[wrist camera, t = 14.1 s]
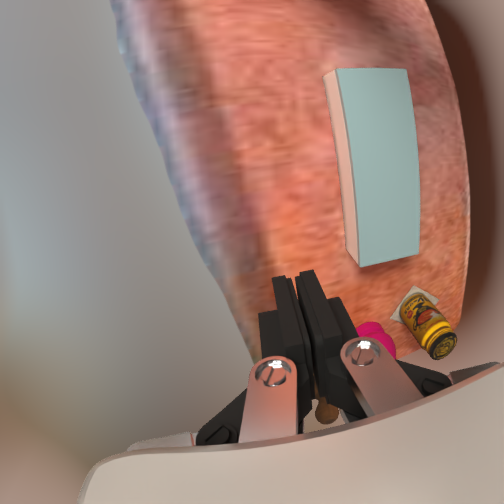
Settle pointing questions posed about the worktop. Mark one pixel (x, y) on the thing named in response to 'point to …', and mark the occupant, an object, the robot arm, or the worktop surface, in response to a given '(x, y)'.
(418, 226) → the cover
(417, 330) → the condiment
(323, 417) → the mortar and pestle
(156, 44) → the worktop surface
